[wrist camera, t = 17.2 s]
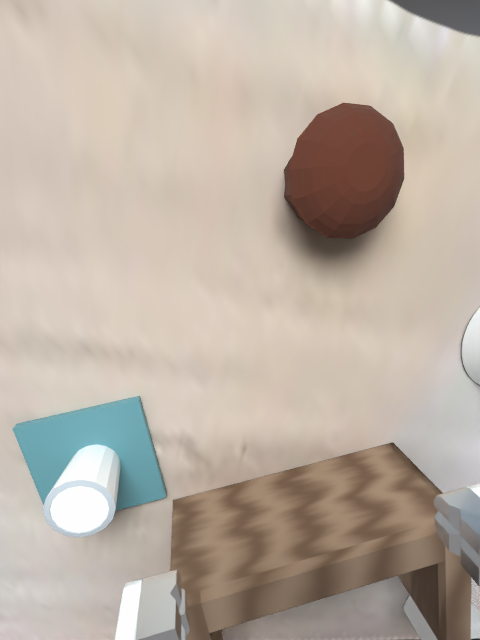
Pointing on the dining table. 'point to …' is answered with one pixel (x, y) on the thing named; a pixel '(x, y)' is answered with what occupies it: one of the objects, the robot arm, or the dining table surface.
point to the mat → (90, 429)
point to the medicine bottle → (422, 628)
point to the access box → (317, 543)
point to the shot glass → (84, 493)
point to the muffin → (345, 171)
